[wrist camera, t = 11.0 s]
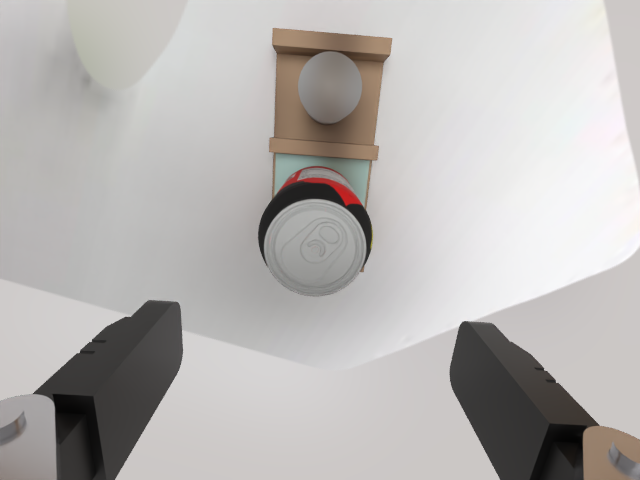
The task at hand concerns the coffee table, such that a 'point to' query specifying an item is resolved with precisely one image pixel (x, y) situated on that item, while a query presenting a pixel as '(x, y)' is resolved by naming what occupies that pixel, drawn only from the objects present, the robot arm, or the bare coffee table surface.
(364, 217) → the beverage can
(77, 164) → the coffee table surface
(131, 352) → the robot arm
